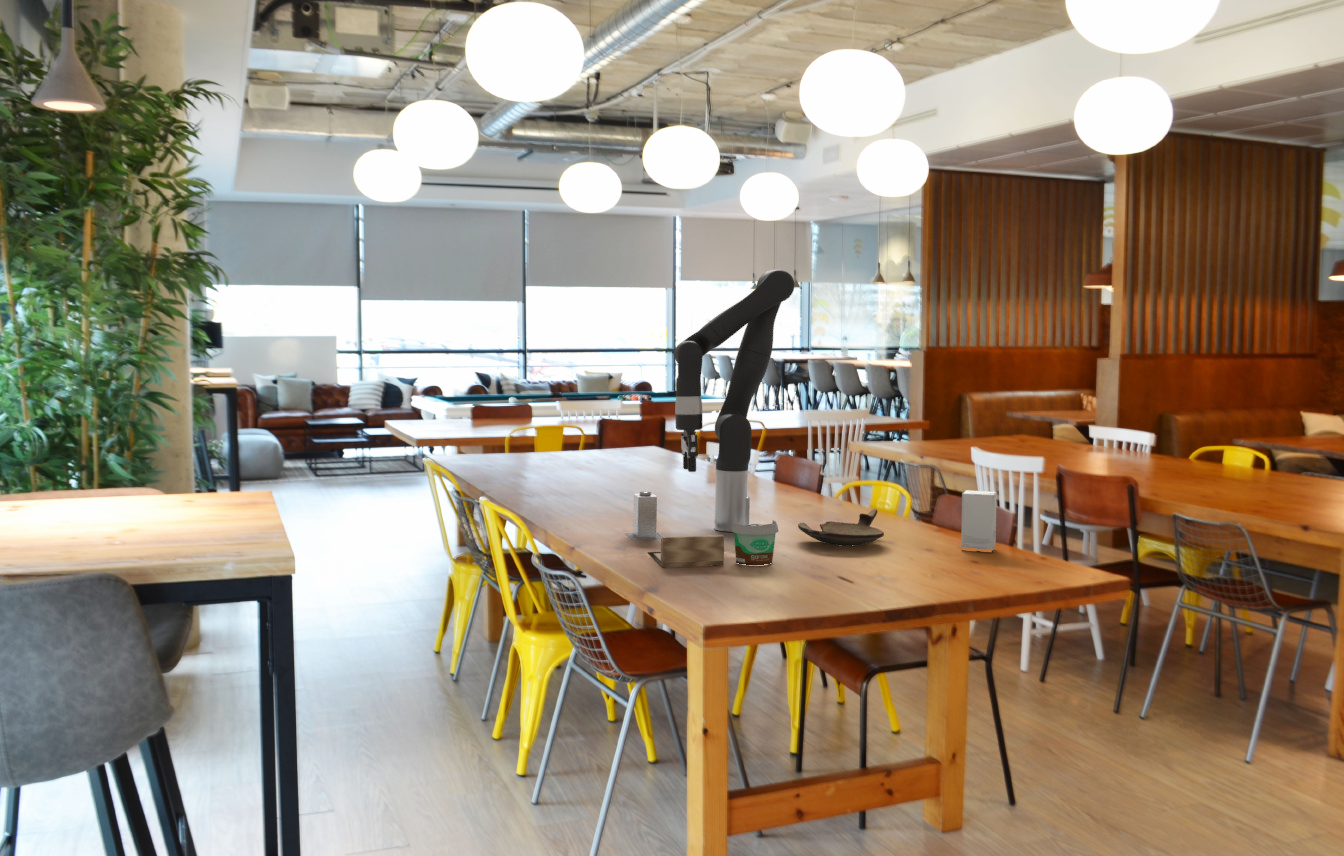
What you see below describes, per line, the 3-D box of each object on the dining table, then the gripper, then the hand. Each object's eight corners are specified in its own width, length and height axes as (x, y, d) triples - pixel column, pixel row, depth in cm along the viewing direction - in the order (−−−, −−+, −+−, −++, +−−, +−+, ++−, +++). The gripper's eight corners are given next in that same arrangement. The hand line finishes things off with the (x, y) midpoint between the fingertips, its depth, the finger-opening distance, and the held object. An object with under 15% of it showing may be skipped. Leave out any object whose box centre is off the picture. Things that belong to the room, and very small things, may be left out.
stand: (657, 538, 285) (657, 532, 284) (664, 544, 276) (664, 538, 276) (624, 538, 282) (624, 533, 282) (631, 545, 274) (631, 539, 274)
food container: (744, 569, 249) (745, 527, 248) (730, 564, 254) (731, 523, 253) (787, 565, 254) (788, 524, 253) (773, 560, 260) (774, 520, 259)
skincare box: (995, 549, 278) (998, 491, 276) (992, 554, 272) (995, 494, 270) (963, 546, 281) (966, 489, 280) (959, 550, 275) (961, 492, 274)
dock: (703, 549, 271) (703, 521, 270) (723, 565, 252) (724, 536, 251) (646, 551, 267) (646, 523, 266) (662, 567, 249) (663, 537, 248)
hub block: (651, 533, 283) (652, 490, 281) (656, 538, 277) (656, 493, 276) (633, 534, 281) (633, 490, 280) (637, 538, 276) (638, 494, 274)
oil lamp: (778, 541, 284) (779, 513, 283) (864, 532, 299) (865, 506, 298) (829, 557, 265) (831, 527, 264) (919, 547, 280) (920, 518, 279)
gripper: (706, 413, 286) (707, 472, 287) (697, 411, 301) (698, 468, 301) (679, 413, 285) (680, 473, 286) (671, 412, 299) (672, 468, 300)
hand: (689, 470), depth 294 cm, fingers open, 8 cm apart
